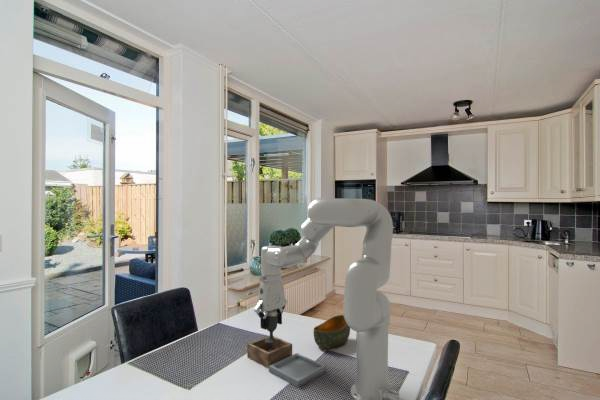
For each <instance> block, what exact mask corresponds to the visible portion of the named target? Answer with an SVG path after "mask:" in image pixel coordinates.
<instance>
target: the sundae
mask: <svg viewBox="0 0 600 400" xmlns="http://www.w3.org/2000/svg"><path fill="white" fill-rule="evenodd" d="M263 314H264V312H263ZM279 315H280V313H278V312H277V311H276V310H273V311H269V312H268V313H267V316H266V318H267V329H266V331H268V332H269V336H270V337H269V338H268V339H266V340H265V342H266V343H270V344H272V343H276V342H277V341H278V339H276V338H274V337H273V336H274V332H275V331H276V330H277V327H278V323H277V321H278V316H279Z"/></svg>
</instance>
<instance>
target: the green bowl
mask: <svg viewBox="0 0 600 400" xmlns="http://www.w3.org/2000/svg"><path fill="white" fill-rule="evenodd" d="M350 334H351V328H350V327H349V326H348V325H347V323H346V321H345V319H344V314H338V315H334V316H333V317H330V318H328V319H327V320H325V321H324V322H322V323H320V324H319V325H316V326H314V328H313V338H314V342H315V344H316V345H317V346H318V349H320V350H322V351H323V350H325V351H330V350H336V349H338V348H342V347H344V346H345V345H346V344H347V342H348V340H349V338H350Z"/></svg>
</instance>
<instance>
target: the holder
mask: <svg viewBox="0 0 600 400" xmlns="http://www.w3.org/2000/svg"><path fill="white" fill-rule="evenodd" d="M269 337H270V335H268V336H265V337H263V338H260V339H257V340H255V341H252V342H249V343H247V348H246V349H247V353H246V355H247V358H248V359H250V360H252V362H256V363H257V364H259V365H260V366H261V365H262V366H263V367H265V368H267V369H269V366H270V365H272V364H274V363H277V362H279V361H281V360H283V359H285V358H287V357H290V356H292V355H293V343H291V342H288V341H286V340H285V339H281V338H279V337H276V336H274V335H273V337H274V338H276V339H278V341H277V342H276V343H272V344H270V343H266V342H265V340H266V339H268V338H269ZM270 350H271V351H270Z"/></svg>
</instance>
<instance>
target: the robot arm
mask: <svg viewBox="0 0 600 400" xmlns="http://www.w3.org/2000/svg"><path fill="white" fill-rule="evenodd" d="M306 214H307V218H306V219H305V220H304V222H302V224H301V226H300V231H301V233H302V237H301V238H300V240H298V241H297V243H295V244H294V245H287V246H281V247H280V246H279V245H265V246H263V247H261V249H260V256H261V257H260V263H261V264H260V265H261V266H260V268H261V269H260V270H261V271H260V272H261V273H260V274H261V275H260V277H259V282H260V284H259V287H258V296H257V297H258V300H257V304H256V306H255V307H254V308H253V311H254V313H256V315H257V317H259V318H260V328H261V329H263V330H266V331H267V318H266V316H267V313H268V312H269V311H273V310H276V311H277V312H278V313H280V315H279V316H278V321H277V325H282V324H283V314H284V310H285V308H286V306H287V303H288V299H286V298H285V297H286V296H285V295H286V294H285V286H284V282H283V280H282V272H281V271H282V269H286V268H290V267H294V266H299V265H301V264H303V263H304V262H305V261H307V260H308V259H309V258H310V257H311V256H312V255H313V254H314V253H315V252H316V250H317V249H318V246H319V245H320V242H321V240H323V238H324V237H325V236H326V235H327V234H328V233H330V232H331V231H332V230H333V229H334V228H335V227H339V228H340V227H341V228H344V227H345V228H358V227H360V228H361V227H365V228H366V231H365V234H364V237H363V240H362V253H361V258H360V259H357V260H355V261H353V262H352V263H351V264H350V265H349V267H348V268H347V271H346V274H345V281H344V291H343V292H344V294H343V304H342V306H343V307H342V309H343V310H342V313H343V314H342V315H344V319H345V321H346V323H347V325H348V326H349V327H350V330H352V331H354V332H356V337H355V342H356V343H355V345H356V346H355V383H354V384H353V385H351V387H350V396H351V398H352V399H353V400H400V392H399V391H396V390H394V389H392V382H389V381H388V380H389V379H388V378H389V372H388V371H389V365H388V363H389V329H390V328H389V327H390V321H391V310H392V309H391V303H390V301H389V298H388V296H387V295H386V294H385V293H384V292H382V291H380V290H378V289H380V288H381V287H383V286H385V285H386V284H387V283H388V281H389V279H390V274H391V260H392V259H391V257H392V243H393V234H394V233H393V232H394V227H393V225H394V224H393V219H392V216H391V214H390V212H389V210H388V208H387V207H385V205H382V203H380V202H378V201H376V200H374V199H369V198H368V199H367V198H349V197H348V198H336V197H335V198H332V197H331V198H330V197H318V198H315V199H313V200H312V201H311V202H310V203H309V205H308V207H307V213H306ZM263 313H264V314H263Z"/></svg>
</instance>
